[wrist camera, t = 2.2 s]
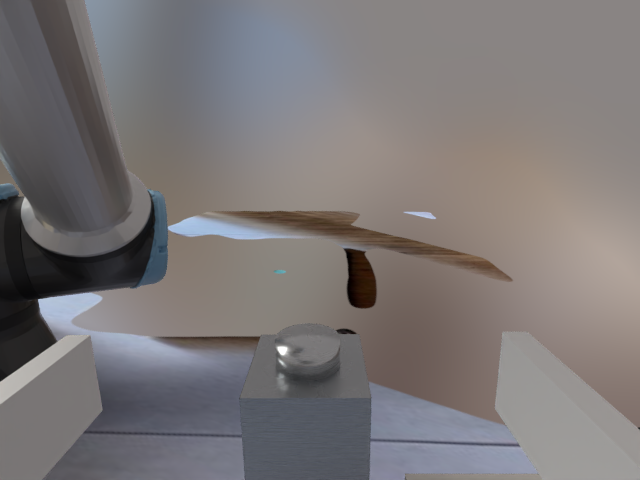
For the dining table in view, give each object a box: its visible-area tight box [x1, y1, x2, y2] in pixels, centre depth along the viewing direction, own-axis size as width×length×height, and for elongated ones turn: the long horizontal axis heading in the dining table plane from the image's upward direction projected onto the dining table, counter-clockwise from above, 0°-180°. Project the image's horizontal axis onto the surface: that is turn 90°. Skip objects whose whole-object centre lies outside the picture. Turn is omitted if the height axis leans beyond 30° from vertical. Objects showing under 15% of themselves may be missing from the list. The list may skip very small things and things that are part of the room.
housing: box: [239, 323, 371, 480], centre depth 25 cm, size 7×7×16 cm
